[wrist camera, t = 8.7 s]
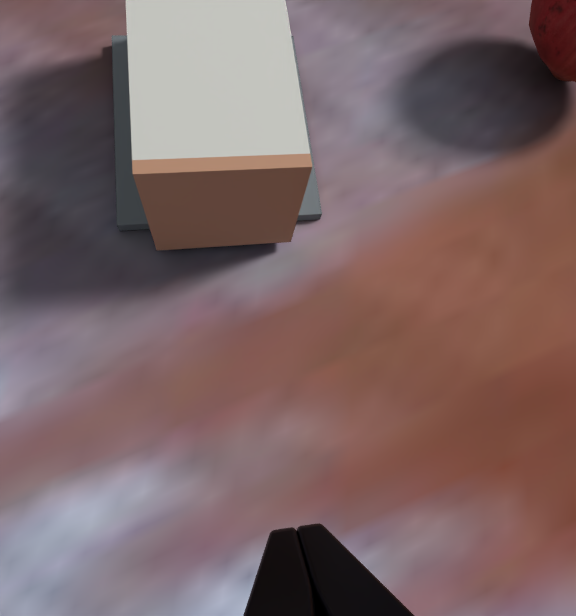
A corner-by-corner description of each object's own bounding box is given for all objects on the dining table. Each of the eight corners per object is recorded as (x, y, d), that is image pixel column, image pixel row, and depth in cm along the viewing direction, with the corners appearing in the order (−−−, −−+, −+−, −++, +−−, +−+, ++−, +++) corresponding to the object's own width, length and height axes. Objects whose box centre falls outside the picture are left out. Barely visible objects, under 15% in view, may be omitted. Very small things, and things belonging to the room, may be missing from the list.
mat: (319, 219, 18) (321, 214, 18) (119, 230, 17) (116, 225, 16) (291, 43, 20) (292, 35, 20) (113, 44, 19) (111, 35, 19)
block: (312, 166, 13) (271, -84, 15) (132, 174, 12) (122, -89, 15) (290, 241, 17) (261, 35, 20) (156, 250, 16) (145, 35, 19)
